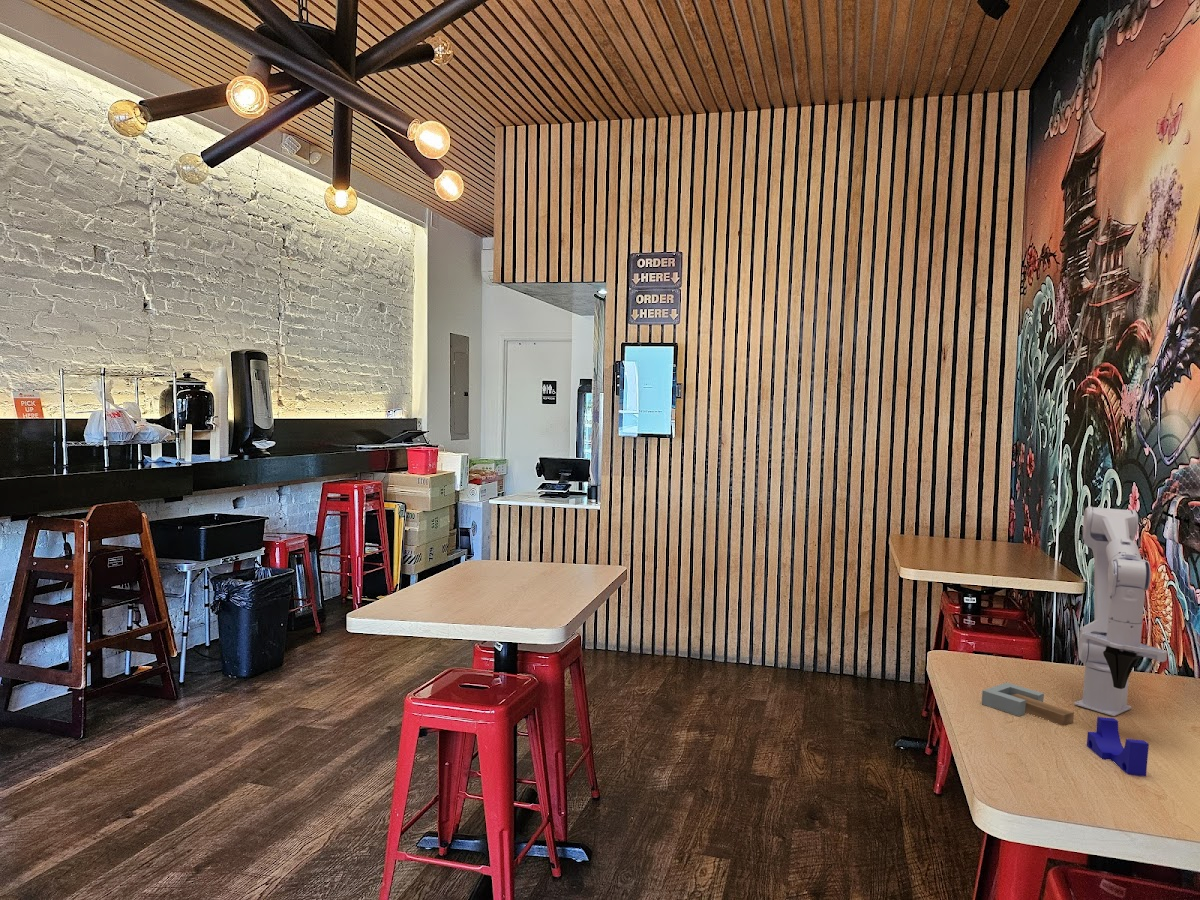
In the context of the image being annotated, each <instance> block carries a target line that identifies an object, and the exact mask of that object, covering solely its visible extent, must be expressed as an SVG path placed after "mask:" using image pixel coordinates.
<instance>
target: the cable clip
mask: <svg viewBox="0 0 1200 900" xmlns="http://www.w3.org/2000/svg"><path fill="white" fill-rule="evenodd" d="M1096 718H1097V719H1096V727H1095V728H1096V729H1095V731H1087V736H1086V747H1087V748H1089V749H1090V750H1091V751H1092V752H1093V753H1094V754H1095V755H1097V756H1098V757H1099V758H1100V759H1101V758H1102V759H1101V760H1106V759H1111V760H1112V761H1114V762H1115V763H1116V764H1117V765H1118V766H1119V767H1120V770H1122V771H1123V772H1125V774H1126V775H1129V776H1139V777H1147V770H1148V769H1147V768H1148V760H1149V759H1148V757H1149V756H1148V755H1149V747H1150V746H1149V745H1150V744H1149V742H1147V741H1145V739H1144V740H1142V739H1134V738H1133V739H1131V738H1126V739H1125V744H1124V747H1123V743H1122V740H1121V738H1120V733H1119V720H1117V719H1116V718H1114V717H1102V716H1097V717H1096ZM1111 760H1110V761H1111ZM1112 761H1111V762H1112ZM1114 762H1113V763H1114ZM1115 763H1114V764H1115ZM1116 764H1115V765H1116ZM1117 765H1116V766H1117ZM1118 766H1117V767H1118ZM1119 767H1118V768H1119Z"/></svg>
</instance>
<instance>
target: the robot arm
mask: <svg viewBox="0 0 1200 900" xmlns="http://www.w3.org/2000/svg"><path fill="white" fill-rule="evenodd" d="M1082 520H1083V521H1082V540H1083V544H1084V546H1086V547H1088V549H1089V548H1090V549H1091V551H1092V555H1093V561H1094V565H1093V566H1094V569H1093V571H1094V574H1093V576H1094V583H1093V584H1094V585H1093V586H1094V594H1093V595H1094V596H1093V597H1094V603H1093V604H1094V605H1093V607H1094V612H1093V613H1094V617H1093V618H1094V620H1093V621H1092V622H1089V623H1087V624H1085V625H1084V626H1082V627H1081V629H1080V632H1079V638H1078V639H1079V640H1078V646H1077V647H1078V659H1079V661H1080V662H1081V663H1083V664H1085V665H1084V674H1083V675H1084V677H1083V678H1084V679H1083V688H1082V689H1083V690H1082V699H1079V700H1076V701H1074V703H1073V704H1074V705H1075V706H1079V707H1082V708H1085V709H1088V710H1092V711H1094V712H1098V713H1102V714H1103V715H1107V716H1108V715H1109V716H1112V717H1115V716H1118V715H1121V714H1123V713H1125V712H1126V711H1129V710H1131V709H1132V706H1131V705H1128V692H1129V677H1130V675H1131V673H1132V671H1133V669H1134V668H1135V666H1136V665H1137V664H1138V662H1139V661H1140V659H1141V658H1142V657H1143V658H1148V659H1152V660H1156V661H1157V662H1160V663H1164V662H1166V661H1167V660H1168V657H1167V656H1168V650H1164V649H1161V648H1157V647H1155V646H1151V645H1148V644H1145V643H1142V642H1141V641H1142V630H1143V619H1144V618H1143V617H1144V609H1145V608H1144V606H1145V597H1146V595H1145V594H1146V591H1148V590H1149V588H1150V585H1151V580H1152V571H1151V564H1150V562H1149V561H1148V560H1146V559H1142V556H1141V552H1140V550H1139V545H1137V544H1136V542H1135V541H1134V540H1135V537H1136V535H1137V533H1138V528H1139V515H1138V512H1137V511H1136V510H1135V509H1122V508H1121V509H1119V508H1110V507H1109V508H1106V507H1096V506H1092V505H1091V506H1090V505H1088V506H1087V507H1086V508H1085V509H1084V512H1083V519H1082Z"/></svg>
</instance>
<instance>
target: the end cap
mask: <svg viewBox="0 0 1200 900" xmlns="http://www.w3.org/2000/svg"><path fill="white" fill-rule="evenodd" d="M1014 694H1020V695H1023V696H1026V697H1029V698H1032V699H1035V700H1038V701H1041V702H1044V696H1045V693H1043V692H1040V691H1037V690H1034V689H1030V688H1027V687H1024V686H1021V685H1018V684H1017V685H1016V684H1013V683H1010V682H1003V683H1001V684H998V685H995V686H992V687H988V688H986V689H982V691H981V705H983V706H985V707H989V708H993V709H995V708H996V709H995V710H998V709H999V711H1001V710H1002V711H1001V712H1004V711H1005V712H1004V713H1007V714H1010V713H1011V715H1014V716H1016V715H1017V716H1016V717H1022V716H1023V714H1024V715H1025V714H1026V713H1025V706H1026V700H1024V699H1021V698H1017V697H1014V696H1011V695H1014ZM1021 715H1022V716H1021Z"/></svg>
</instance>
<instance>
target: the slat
mask: <svg viewBox="0 0 1200 900" xmlns="http://www.w3.org/2000/svg"><path fill="white" fill-rule="evenodd" d="M1011 696H1014V697H1017V698H1021V699H1024V700H1026V706H1025V712H1026V713H1025V714H1028V713H1029V715H1031V714H1032V715H1031V716H1033V715H1035V716H1034V717H1036V716H1039V717H1041V718H1040V719H1042V718H1044V719H1043V720H1045V719H1047V720H1046V721H1048V720H1049V721H1048V722H1050V721H1051V722H1052V723H1054V724H1056V723H1057V725H1060V726H1062V727H1064V726H1066V725H1070V724H1073V723H1074V716H1075V712H1074V711H1071V710H1067V709H1065V708H1063V707H1059V706H1056V705H1053V704H1051V703H1047V702H1045V701H1043V702H1041V701H1038V700H1035V699H1032V698H1029V697H1026V696H1023V695H1020V694H1014V695H1011ZM1039 717H1038V718H1039Z"/></svg>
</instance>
